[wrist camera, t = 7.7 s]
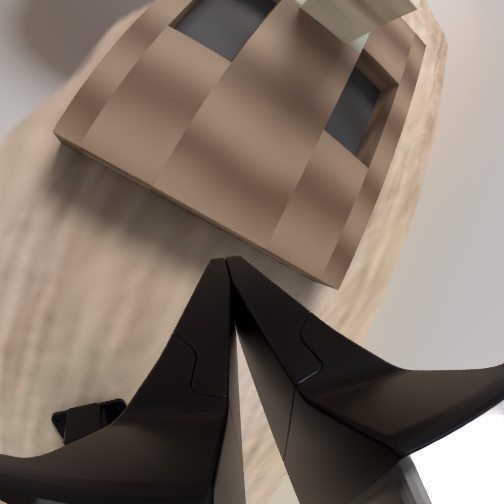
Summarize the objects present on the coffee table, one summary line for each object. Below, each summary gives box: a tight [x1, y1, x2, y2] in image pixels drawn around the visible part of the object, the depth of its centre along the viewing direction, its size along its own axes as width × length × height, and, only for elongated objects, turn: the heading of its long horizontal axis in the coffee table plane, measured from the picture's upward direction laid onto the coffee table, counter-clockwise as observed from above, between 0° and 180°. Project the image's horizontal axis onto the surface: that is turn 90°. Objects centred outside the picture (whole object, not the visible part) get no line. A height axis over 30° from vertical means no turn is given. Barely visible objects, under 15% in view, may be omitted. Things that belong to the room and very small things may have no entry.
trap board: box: [52, 0, 426, 290], centre depth 21 cm, size 29×22×3 cm
